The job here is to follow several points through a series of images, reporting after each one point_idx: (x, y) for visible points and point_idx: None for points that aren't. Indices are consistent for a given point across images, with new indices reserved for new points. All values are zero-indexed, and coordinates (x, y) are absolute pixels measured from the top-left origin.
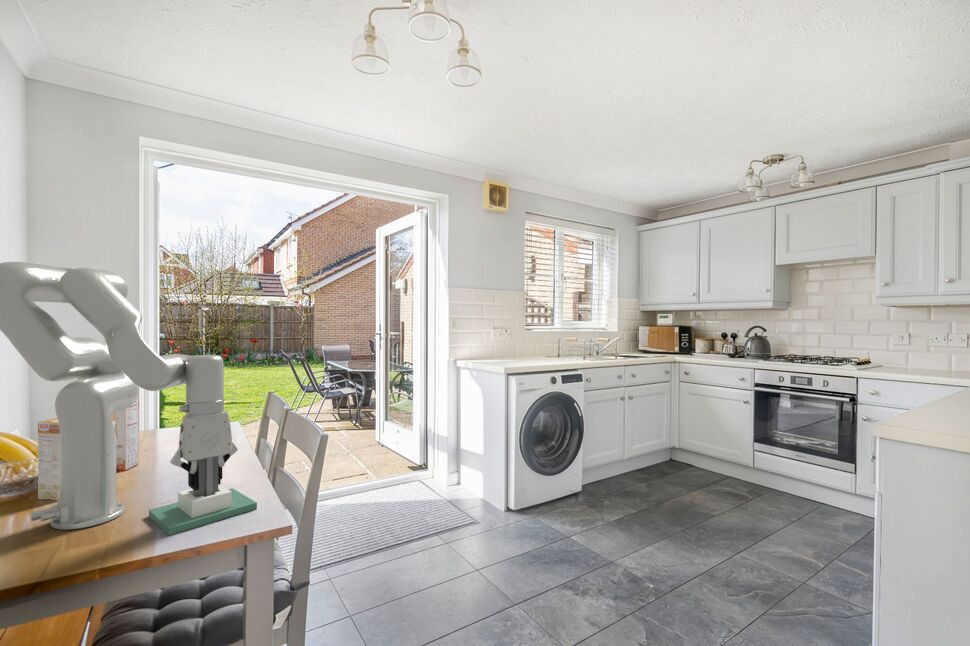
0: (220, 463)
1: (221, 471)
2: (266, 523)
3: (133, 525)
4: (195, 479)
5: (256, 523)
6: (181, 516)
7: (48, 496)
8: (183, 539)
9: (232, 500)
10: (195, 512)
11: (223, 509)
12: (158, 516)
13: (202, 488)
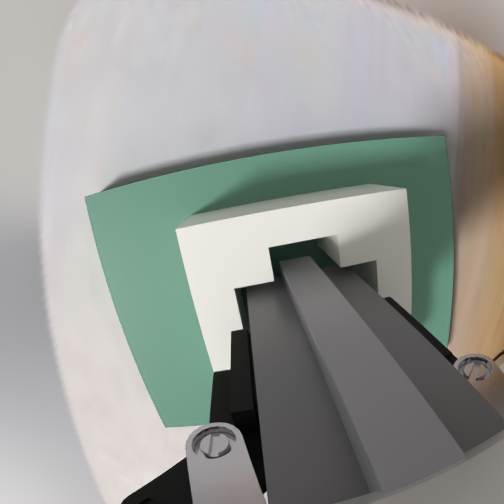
0: (226, 456)
1: (217, 405)
2: (111, 25)
3: (475, 305)
4: (425, 329)
5: (138, 40)
6: None
7: None
8: (394, 68)
9: (175, 298)
10: (365, 186)
11: (231, 200)
12: (448, 287)
13: (354, 293)
